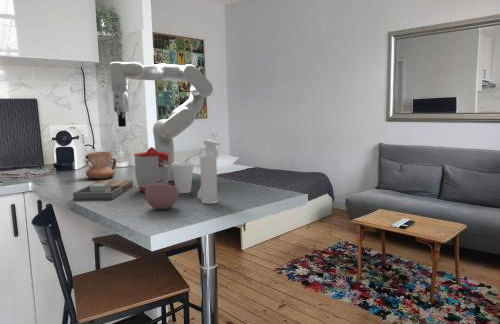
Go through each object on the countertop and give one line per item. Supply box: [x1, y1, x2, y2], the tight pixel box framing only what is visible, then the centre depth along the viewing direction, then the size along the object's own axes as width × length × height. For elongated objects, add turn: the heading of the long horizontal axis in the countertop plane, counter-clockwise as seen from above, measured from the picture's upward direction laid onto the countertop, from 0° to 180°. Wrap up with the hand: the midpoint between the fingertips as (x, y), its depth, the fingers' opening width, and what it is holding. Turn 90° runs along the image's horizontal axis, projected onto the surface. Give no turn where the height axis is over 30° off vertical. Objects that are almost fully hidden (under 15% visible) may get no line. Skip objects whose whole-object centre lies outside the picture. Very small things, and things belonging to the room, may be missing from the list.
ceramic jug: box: [83, 151, 117, 180], centre depth 204 cm, size 18×14×14 cm
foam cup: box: [172, 161, 194, 194], centre depth 167 cm, size 10×9×13 cm
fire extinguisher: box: [196, 139, 221, 202], centre depth 148 cm, size 7×12×25 cm, turn 46°
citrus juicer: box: [133, 146, 170, 193], centre depth 171 cm, size 16×17×20 cm
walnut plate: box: [86, 179, 134, 194], centre depth 175 cm, size 16×14×3 cm
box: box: [72, 186, 124, 201], centre depth 161 cm, size 16×14×3 cm
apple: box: [144, 178, 179, 210], centre depth 139 cm, size 12×12×11 cm
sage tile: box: [88, 182, 109, 191], centre depth 162 cm, size 6×6×2 cm
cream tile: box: [91, 187, 111, 192], centre depth 164 cm, size 6×6×2 cm
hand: (122, 126), depth 185 cm, fingers closed
